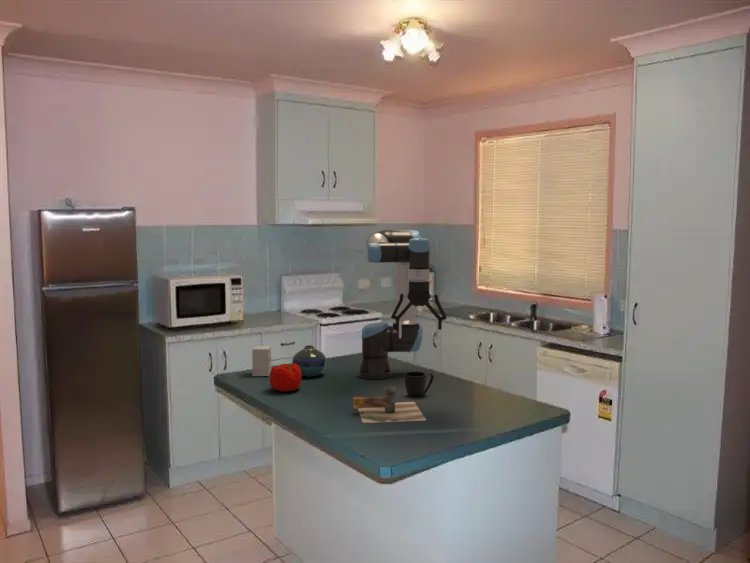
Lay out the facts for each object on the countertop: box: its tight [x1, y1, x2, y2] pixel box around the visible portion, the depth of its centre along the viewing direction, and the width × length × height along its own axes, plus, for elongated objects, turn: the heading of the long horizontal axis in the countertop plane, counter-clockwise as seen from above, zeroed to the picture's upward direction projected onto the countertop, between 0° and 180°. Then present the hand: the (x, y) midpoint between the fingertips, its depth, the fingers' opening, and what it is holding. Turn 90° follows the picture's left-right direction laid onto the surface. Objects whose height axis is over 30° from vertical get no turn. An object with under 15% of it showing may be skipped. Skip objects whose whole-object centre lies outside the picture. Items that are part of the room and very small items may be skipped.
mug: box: [404, 371, 434, 398], centre depth 252 cm, size 8×12×10 cm
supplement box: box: [251, 345, 272, 377], centre depth 286 cm, size 7×7×13 cm
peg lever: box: [352, 385, 397, 413], centre depth 228 cm, size 15×4×8 cm, turn 97°
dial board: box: [357, 401, 427, 424], centre depth 230 cm, size 22×22×1 cm
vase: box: [291, 344, 328, 378], centre depth 286 cm, size 15×15×13 cm
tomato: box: [269, 362, 302, 393], centre depth 262 cm, size 14×13×10 cm
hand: (418, 338), depth 236 cm, fingers open, 13 cm apart
